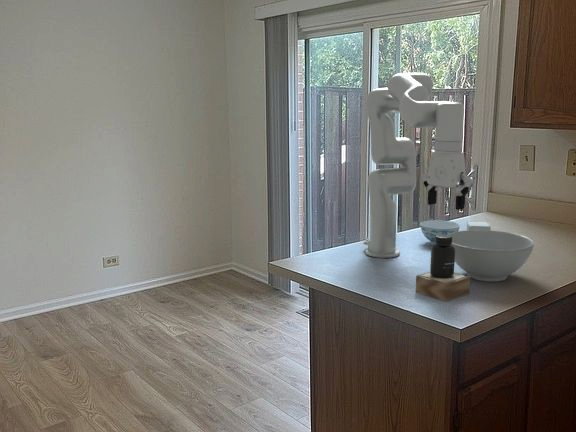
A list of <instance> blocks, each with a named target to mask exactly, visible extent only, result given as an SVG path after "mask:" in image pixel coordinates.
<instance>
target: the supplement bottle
mask: <svg viewBox="0 0 576 432" xmlns="http://www.w3.org/2000/svg"><path fill="white" fill-rule="evenodd" d="M435 242H436V243H435V244H434V245H433V244H432V245H431V247H430V248H431V249H430V252H431V253H430V267H429V268H430V270H429V272H430V274H431V275H432V276H433V277H436V278H451V277H453V275H454V273H455V264H456V263H455V247H454V246H453V245H452V244H451V243H452V236H450V235H445V234H439V235H436V236H435Z"/></svg>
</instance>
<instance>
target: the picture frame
mask: <svg viewBox="0 0 576 432" xmlns="http://www.w3.org/2000/svg"><path fill="white" fill-rule="evenodd" d="M470 285H471V278H470V277H469V276H468V275H464V274H460V273H457V272H454V275H453V277H451V278H436V277H433V276H432V275H431V274H430V271H427V272H424V273H421V274H417V275H416V276H415V292H416V293H418V294H422V295H424V296H428V297H430V298H434V299H437V300H440V301H443V302H449V301H452V300H454V299H457V298H460V297H464V296H465V295H466V296H467V295H468V294H470V289H471V287H470Z"/></svg>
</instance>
